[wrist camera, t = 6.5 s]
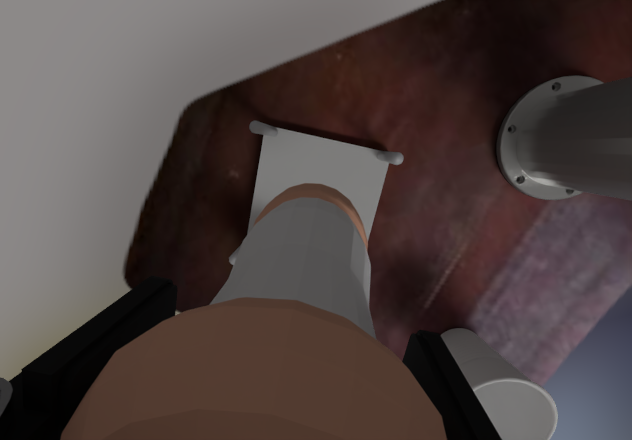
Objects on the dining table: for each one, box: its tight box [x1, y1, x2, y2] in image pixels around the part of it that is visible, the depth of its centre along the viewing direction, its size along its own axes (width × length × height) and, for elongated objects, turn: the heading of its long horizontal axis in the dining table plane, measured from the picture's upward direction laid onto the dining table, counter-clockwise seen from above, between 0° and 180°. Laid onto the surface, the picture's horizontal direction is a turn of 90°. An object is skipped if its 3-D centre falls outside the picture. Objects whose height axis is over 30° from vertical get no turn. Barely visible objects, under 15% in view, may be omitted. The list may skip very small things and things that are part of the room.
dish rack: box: [229, 121, 403, 265], centre depth 30 cm, size 14×20×12 cm
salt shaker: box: [60, 183, 447, 440], centre depth 12 cm, size 7×7×19 cm
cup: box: [440, 328, 558, 440], centre depth 34 cm, size 10×10×11 cm
